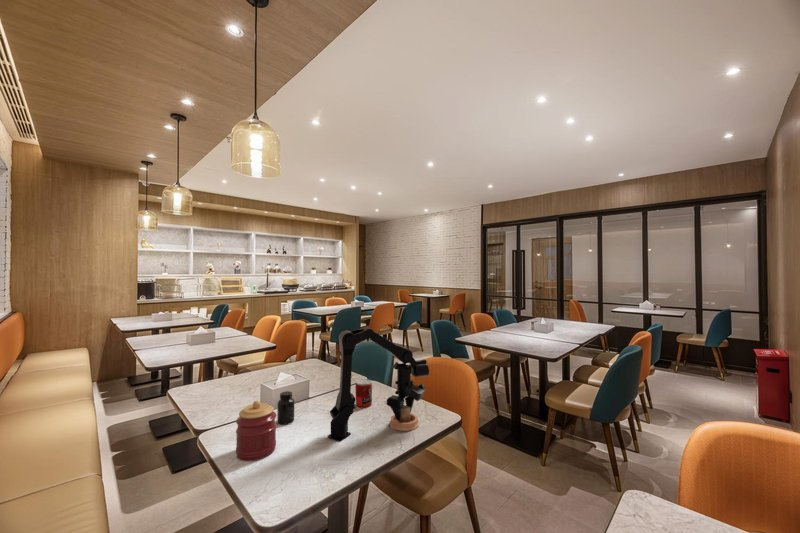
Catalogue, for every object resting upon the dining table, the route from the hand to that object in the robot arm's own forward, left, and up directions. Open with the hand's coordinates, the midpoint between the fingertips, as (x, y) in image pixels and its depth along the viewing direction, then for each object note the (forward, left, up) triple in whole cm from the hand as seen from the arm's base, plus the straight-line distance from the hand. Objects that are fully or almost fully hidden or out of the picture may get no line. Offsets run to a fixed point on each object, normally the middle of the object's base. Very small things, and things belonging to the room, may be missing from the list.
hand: (404, 416), depth 138 cm
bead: (0, 0, -2) cm, 2 cm away
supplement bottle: (-22, +45, -3) cm, 50 cm away
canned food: (+9, +27, -3) cm, 29 cm away
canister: (-44, +35, -3) cm, 56 cm away
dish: (0, 0, -3) cm, 3 cm away
